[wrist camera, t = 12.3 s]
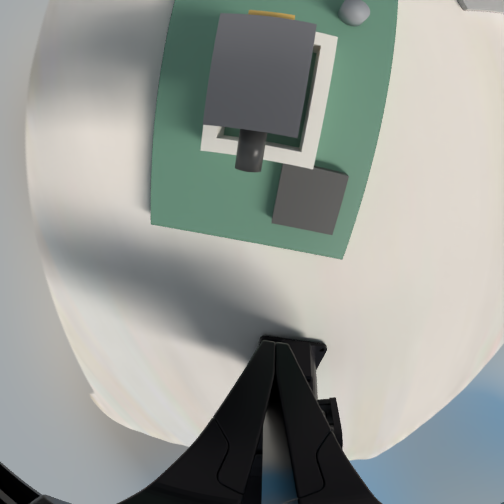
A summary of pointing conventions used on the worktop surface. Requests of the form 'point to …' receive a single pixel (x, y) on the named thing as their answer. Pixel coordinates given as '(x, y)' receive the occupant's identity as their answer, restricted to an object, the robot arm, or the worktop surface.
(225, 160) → the board
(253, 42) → the plug
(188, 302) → the worktop surface
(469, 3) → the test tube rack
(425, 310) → the worktop surface
